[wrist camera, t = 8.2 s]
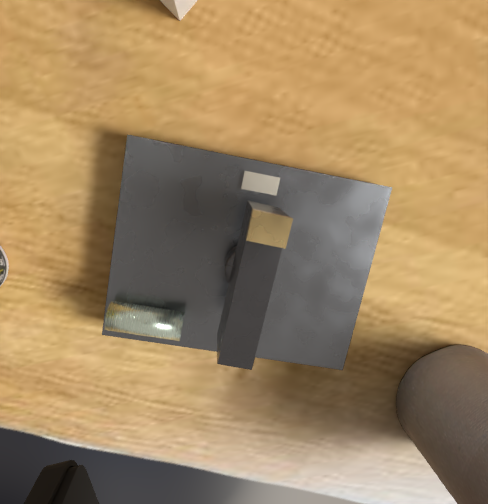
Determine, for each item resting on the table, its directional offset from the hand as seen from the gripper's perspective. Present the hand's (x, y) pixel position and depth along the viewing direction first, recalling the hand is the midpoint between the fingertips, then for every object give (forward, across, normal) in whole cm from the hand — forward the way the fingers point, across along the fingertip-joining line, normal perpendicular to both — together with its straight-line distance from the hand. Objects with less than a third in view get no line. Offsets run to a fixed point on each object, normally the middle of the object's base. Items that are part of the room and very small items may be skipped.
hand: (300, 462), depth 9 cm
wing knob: (+20, 0, +1) cm, 20 cm away
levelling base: (+22, 0, +1) cm, 22 cm away
